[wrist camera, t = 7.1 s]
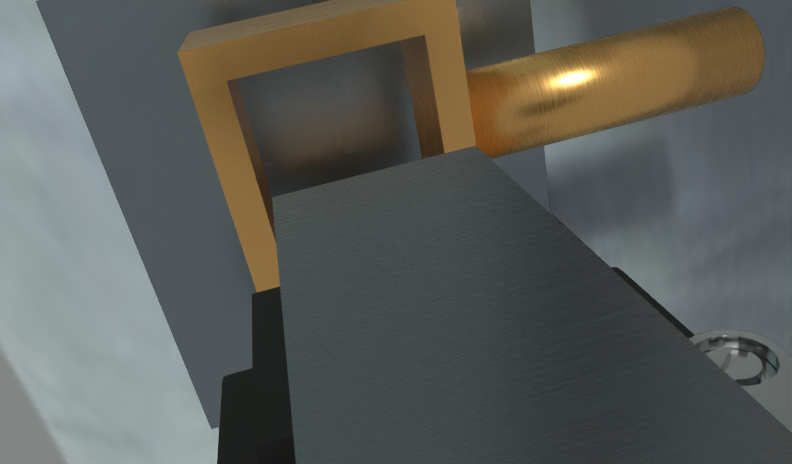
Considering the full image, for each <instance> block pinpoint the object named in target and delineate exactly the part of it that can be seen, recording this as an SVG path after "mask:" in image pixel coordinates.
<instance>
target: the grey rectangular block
mask: <svg viewBox="0 0 792 464" xmlns="http://www.w3.org/2000/svg"><path fill="white" fill-rule="evenodd" d="M272 203H273V214H274V225H275V236H276V247H277V258H278V270H279V281H280V292H281V303H282V314H283V325H284V337H285V348H286V359H287V370H288V381H289V392H290V404H291V415H292V426H293V437H294V448H295V459H296V464H792V432H791V431H789V430H788V429H787V428H786V427H785V426H784V425H783V424H782V423H781V422H780V421H778V420H777V419H776V418H775V417H774V416H773V415H772V414H771V413H770V412H769V411H767V410H766V409H765V408H764V407H763V406H762V405H761V404H760V403H759V402H758V401H756V400H755V399H754V398H753V397H752V396H751V395H750V394H749V393H748V392H747V391H745V390H744V389H743V388H742V387H741V386H740V385H739V384H738V383H737V382H736V381H734V380H733V379H732V378H731V377H730V376H729V375H728V374H727V373H726V372H724V371H723V370H722V369H721V368H720V367H719V366H718V365H717V364H716V363H715V362H713V361H712V360H711V359H710V358H709V357H708V356H707V355H706V354H705V353H704V352H702V351H701V350H700V349H699V348H698V347H697V346H696V345H695V344H694V343H693V342H691V341H690V340H689V339H688V338H687V337H686V336H685V335H684V334H683V333H682V332H680V331H679V330H678V329H677V328H676V327H675V326H674V325H673V324H672V323H671V322H669V321H668V320H667V319H666V318H665V317H664V316H663V315H662V314H661V313H660V312H658V311H657V310H656V309H655V308H654V307H653V306H652V305H651V304H650V303H649V302H647V301H646V300H645V299H644V298H643V297H642V296H641V295H640V294H639V293H638V292H636V291H635V290H634V289H633V288H632V287H631V286H630V285H629V284H628V283H626V282H625V281H624V280H623V279H622V278H621V277H620V276H619V275H618V274H617V273H615V272H614V271H613V270H612V269H611V268H610V267H609V266H608V265H607V264H606V263H604V262H603V261H602V260H601V259H600V258H599V257H598V256H597V255H596V254H595V253H593V252H592V251H591V250H590V249H589V248H588V247H587V246H586V245H585V244H584V243H582V242H581V241H580V240H579V239H578V238H577V237H576V236H575V235H574V234H573V233H571V232H570V231H569V230H568V229H567V228H566V227H565V226H564V225H563V224H562V223H560V222H559V221H558V220H557V219H556V218H555V217H554V216H553V215H552V214H551V213H549V212H548V211H547V210H546V209H545V208H544V207H543V206H542V205H541V204H540V203H538V202H537V201H536V200H535V199H534V198H533V197H532V196H531V195H530V194H528V193H527V192H526V191H525V190H524V189H523V188H522V187H521V186H520V185H519V184H517V183H516V182H515V181H514V180H513V179H512V178H511V177H510V176H509V175H508V174H506V173H505V172H504V171H503V170H502V169H501V168H500V167H499V166H498V165H497V164H495V163H494V162H493V161H492V160H491V159H490V158H489V157H488V156H487V155H486V154H484V153H483V152H482V151H481V150H480V149H479V148H478V147H477V146H472V147H468V148H464V149H460V150H456V151H452V152H448V153H444V154H440V155H436V156H432V157H429V158H425V159H421V160H417V161H413V162H409V163H405V164H401V165H397V166H393V167H389V168H385V169H381V170H377V171H373V172H370V173H366V174H362V175H358V176H354V177H350V178H346V179H342V180H338V181H334V182H330V183H326V184H322V185H318V186H314V187H311V188H307V189H303V190H299V191H295V192H291V193H287V194H283V195H279V196H275V197H272Z"/></svg>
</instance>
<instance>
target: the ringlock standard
mask: <svg viewBox="0 0 792 464" xmlns="http://www.w3.org/2000/svg"><path fill="white" fill-rule="evenodd" d="M36 3H37V5H38V8H39V10H40V13H41V15H42V18H43V20H44V22H45V25H46V27H47V30H48V32H49V35H50V37H51V39H52V42H53V44H54V47H55V49H56V52H57V54H58V57H59V59H60V61H61V64H62V66H63V69H64V71H65V74H66V76H67V78H68V81H69V83H70V86H71V88H72V91H73V93H74V95H75V98H76V100H77V103H78V105H79V108H80V110H81V113H82V115H83V117H84V120H85V122H86V125H87V127H88V130H89V132H90V134H91V137H92V139H93V142H94V144H95V147H96V149H97V152H98V154H99V156H100V159H101V161H102V164H103V166H104V169H105V171H106V173H107V176H108V178H109V181H110V183H111V186H112V188H113V190H114V193H115V195H116V198H117V200H118V203H119V205H120V208H121V210H122V212H123V215H124V217H125V220H126V222H127V225H128V227H129V229H130V232H131V234H132V237H133V239H134V242H135V244H136V246H137V249H138V251H139V254H140V256H141V259H142V261H143V264H144V266H145V268H146V271H147V273H148V276H149V278H150V281H151V283H152V285H153V288H154V290H155V293H156V295H157V298H158V300H159V302H160V305H161V307H162V310H163V312H164V315H165V317H166V320H167V322H168V324H169V327H170V329H171V332H172V334H173V337H174V339H175V341H176V344H177V346H178V349H179V351H180V354H181V356H182V358H183V361H184V363H185V366H186V368H187V371H188V373H189V376H190V378H191V380H192V383H193V385H194V388H195V390H196V393H197V395H198V397H199V400H200V402H201V405H202V407H203V410H204V412H205V414H206V417H207V419H208V422H209V424H210V427H211V429H213V428H217V427H219V426H220V410H221V393H222V381H223V377H224V376H225V375H229V374H232V373H236V372H240V371H243V370H247V369H250V368H252V294H253V293H257V292H261V291H264V290H268V289H272V288H276V287H279V286H280V281H279V270H278V258H277V247H276V236H275V225H274V214H273V203H272V197H275V196H279V195H283V194H287V193H291V192H295V191H299V190H303V189H307V188H311V187H314V186H318V185H322V184H326V183H330V182H334V181H338V180H342V179H346V178H350V177H354V176H358V175H362V174H366V173H370V172H373V171H377V170H381V169H385V168H389V167H393V166H397V165H401V164H405V163H409V162H413V161H417V160H421V159H425V158H429V157H432V156H436V155H440V154H444V153H448V152H452V151H456V150H460V149H464V148H468V147H472V146H477V147H478V148H479V149H480V150H481V151H482V152H483V153H484V154H486V155H487V156H488V157H489V158H490V159H491V160H492V161H493V162H494V163H495V164H497V165H498V166H499V167H500V168H501V169H502V170H503V171H504V172H505V173H506V174H508V175H509V176H510V177H511V178H512V179H513V180H514V181H515V182H516V183H517V184H519V185H520V186H521V187H522V188H523V189H524V190H525V191H526V192H527V193H528V194H530V195H531V196H532V197H533V198H534V199H535V200H536V201H537V202H538V203H540V204H541V205H542V206H543V207H544V208H545V209H546V210H547V211H548V212H549V213H550V206H549V195H548V185H547V175H546V164H545V154H544V145H548V144H552V143H556V142H560V141H564V140H568V139H572V138H576V137H579V136H583V135H587V134H591V133H595V132H599V131H603V130H607V129H611V128H615V127H619V126H622V125H626V124H630V123H634V122H638V121H642V120H646V119H650V118H654V117H658V116H661V115H665V114H669V113H673V112H677V111H681V110H685V109H689V108H693V107H697V106H701V105H704V104H708V103H712V102H716V101H720V100H724V99H728V98H732V97H736V96H740V95H743V94H746V93H748V92H750V91H751V90H752V89H753V88H754V87H755V86H756V84H757V83H758V81H759V79H760V76H761V73H762V70H763V65H764V46H763V40H762V37H761V33H760V31H759V28H758V26H757V24H756V23H755V21H754V20H753V18H752V17H751V16H750V15H749V14H748V13H747V12H746V11H744V10H743V9H740V8H738V7H727V8H723V9H719V10H715V11H711V12H707V13H702V14H698V15H694V16H690V17H686V18H682V19H678V20H673V21H669V22H665V23H661V24H657V25H653V26H648V27H644V28H640V29H636V30H632V31H628V32H624V33H619V34H615V35H611V36H607V37H603V38H599V39H595V40H590V41H586V42H582V43H578V44H574V45H570V46H566V47H561V48H557V49H553V50H549V51H545V52H541V53H537V54H535V49H534V39H533V28H532V18H531V8H530V0H38V1H36Z"/></svg>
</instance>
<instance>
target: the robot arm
mask: <svg viewBox="0 0 792 464" xmlns="http://www.w3.org/2000/svg"><path fill="white" fill-rule="evenodd" d="M555 218H556V217H555ZM556 219H557V218H556ZM557 220H558V219H557ZM558 221H559V220H558ZM559 222H560V221H559ZM560 223H561V222H560ZM566 228H567V227H566ZM567 229H568V228H567ZM568 230H569V229H568ZM569 231H570V230H569ZM570 232H571V231H570ZM571 233H572V232H571ZM577 238H578V237H577ZM578 239H579V238H578ZM579 240H580V239H579ZM580 241H581V240H580ZM581 242H582V241H581ZM582 243H583V242H582ZM588 248H589V247H588ZM589 249H590V248H589ZM590 250H591V249H590ZM591 251H592V250H591ZM592 252H593V251H592ZM593 253H594V252H593ZM599 258H600V257H599ZM600 259H601V258H600ZM601 260H602V259H601ZM602 261H603V260H602ZM603 262H604V261H603ZM604 263H605V262H604ZM610 268H611V269H612V270H613V271H614V272H615V273H617V274H618V275H619V276H620V277H621V278H622V279H623V280H624V281H625V282H626V283H628V284H629V285H630V286H631V287H632V288H633V289H634V290H635V291H636V292H638V293H639V294H640V295H641V296H642V297H643V298H644V299H645V300H646V301H647V302H649V303H650V304H651V305H652V306H653V307H654V308H655V309H656V310H657V311H658V312H660V313H661V314H662V315H663V316H664V317H665V318H666V319H667V320H668V321H669V322H671V323H672V324H673V325H674V326H675V327H676V328H677V329H678V330H679V331H680V332H682V333H683V334H684V335H685V336H686V337H687V338H688V339H689V340H690V341H691V342H693V343H694V344H695V345H696V346H697V347H698V348H699V349H700V350H701V351H702V352H704V353H705V354H706V355H707V356H708V357H709V358H710V359H711V360H712V361H713V362H715V363H716V364H717V365H718V366H719V367H720V368H721V369H722V370H723V371H724V372H726V373H727V374H728V375H729V376H730V377H731V378H732V379H733V380H734V381H736V382H737V383H738V384H739V385H740V386H741V387H742V388H743V389H744V390H745V391H747V392H748V393H749V394H750V395H751V396H752V397H753V398H754V399H755V400H756V401H758V402H759V403H760V404H761V405H762V406H763V407H764V408H765V409H766V410H767V411H769V412H770V413H771V414H772V415H773V416H774V417H775V418H776V419H777V420H778V421H780V422H781V423H782V424H783V425H784V426H785V427H786V428H787V429H788V430H789V431H791V432H792V357H791V356H790V355H789V354H788V353H787V352H786V351H785V350H784V349H783V348H781V347H780V346H779V345H778V344H776V343H775V342H773V341H771V340H769V339H767V338H765V337H763V336H761V335H758V334H754V333H750V332H746V331H740V330H730V329H723V330H710V331H707V332H703V333H699V334H696V335H694V334H693V333H692V332H691V331H689V330H688V329H687V328H686V327H685V326H684V325H683V324H682V323H680V322H679V321H678V320H677V319H676V318H675V317H674V316H673V315H671V314H670V313H669V312H668V311H667V310H666V309H665V308H664V307H662V306H661V305H660V304H659V303H658V302H657V301H656V300H655V299H653V298H652V297H651V296H650V295H649V294H648V293H647V292H646V291H644V290H643V289H642V288H641V287H640V286H639V285H638V284H637V283H635V282H634V281H633V280H632V279H631V278H630V277H629V276H628V275H626V274H625V273H624V272H623V271H622V270H620V269H619V268H617V267H610ZM217 464H296V459H295V448H294V437H293V426H292V415H291V404H290V392H289V381H288V370H287V359H286V348H285V337H284V325H283V314H282V303H281V292H280V286H279V287H276V288H272V289H268V290H264V291H261V292H257V293H253V294H252V368H250V369H247V370H243V371H240V372H236V373H232V374H229V375H225V376H224V377H223V381H222V393H221V410H220V426H219V443H218V460H217Z"/></svg>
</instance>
